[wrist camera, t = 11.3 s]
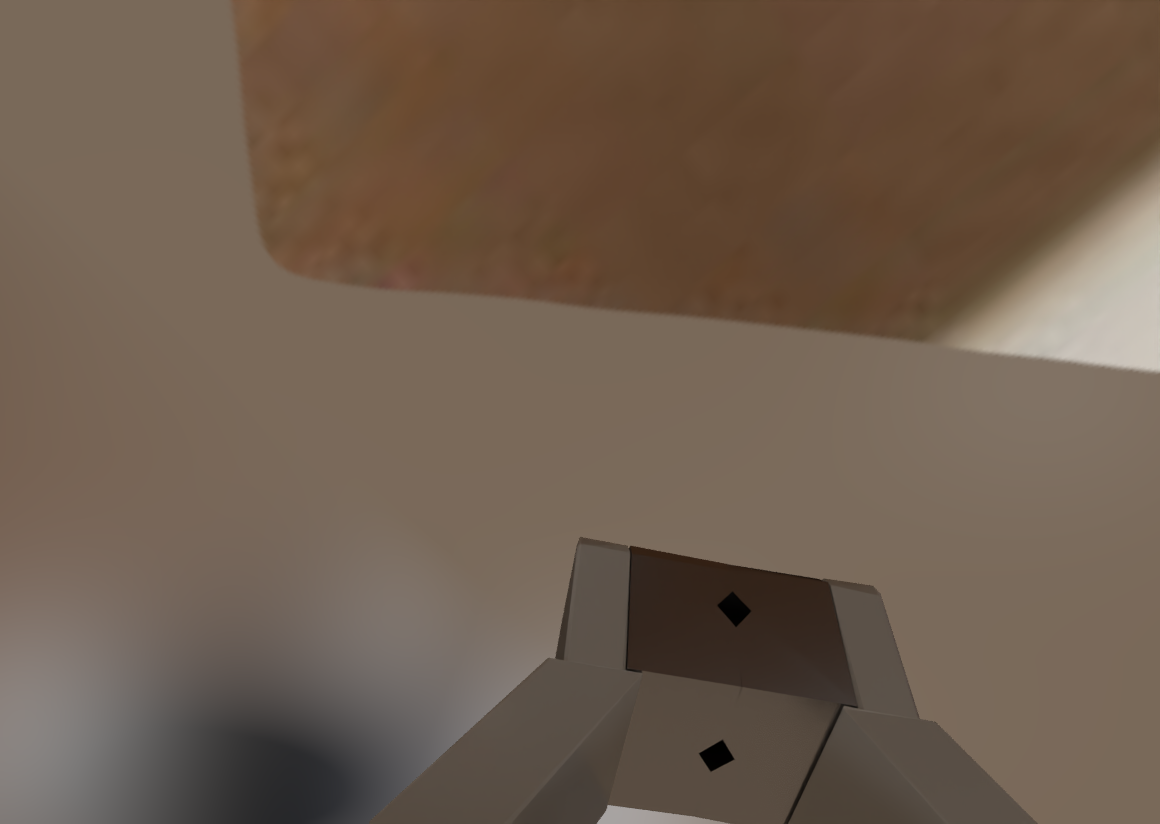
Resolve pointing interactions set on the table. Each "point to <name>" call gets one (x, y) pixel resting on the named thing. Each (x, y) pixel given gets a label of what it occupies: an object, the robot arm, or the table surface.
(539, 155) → the table surface
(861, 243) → the table surface
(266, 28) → the table surface
